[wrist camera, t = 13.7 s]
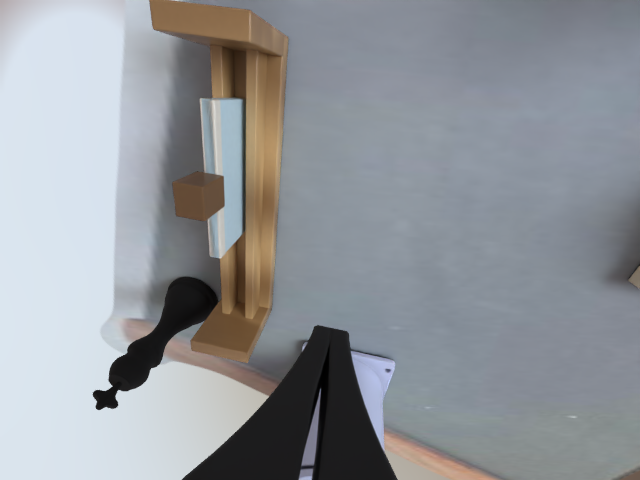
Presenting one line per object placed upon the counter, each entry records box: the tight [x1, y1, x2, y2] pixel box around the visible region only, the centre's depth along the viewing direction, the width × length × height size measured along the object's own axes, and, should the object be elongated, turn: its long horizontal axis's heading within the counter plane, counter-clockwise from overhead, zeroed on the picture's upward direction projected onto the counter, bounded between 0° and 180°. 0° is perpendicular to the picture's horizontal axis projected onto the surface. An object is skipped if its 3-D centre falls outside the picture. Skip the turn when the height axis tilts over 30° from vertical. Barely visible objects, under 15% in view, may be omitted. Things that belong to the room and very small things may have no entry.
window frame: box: [149, 0, 288, 363], centre depth 17 cm, size 19×4×6 cm, turn 173°
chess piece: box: [93, 277, 218, 410], centre depth 20 cm, size 4×4×10 cm
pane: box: [172, 98, 246, 258], centre depth 15 cm, size 8×1×6 cm, turn 173°
